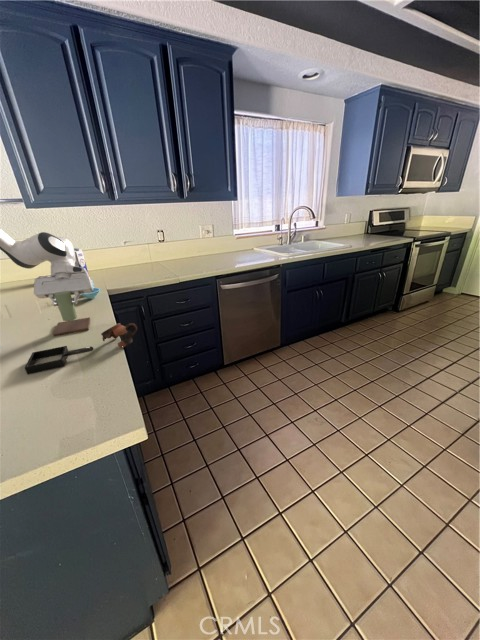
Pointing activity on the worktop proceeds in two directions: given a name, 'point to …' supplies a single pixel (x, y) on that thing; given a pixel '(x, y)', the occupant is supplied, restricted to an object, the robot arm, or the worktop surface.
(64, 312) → the pale green cylinder
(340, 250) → the worktop surface
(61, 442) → the worktop surface
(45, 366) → the pan
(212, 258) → the worktop surface
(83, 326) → the board
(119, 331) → the brown irregular piece
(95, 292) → the blue conch shell
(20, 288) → the worktop surface
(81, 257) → the milk carton
